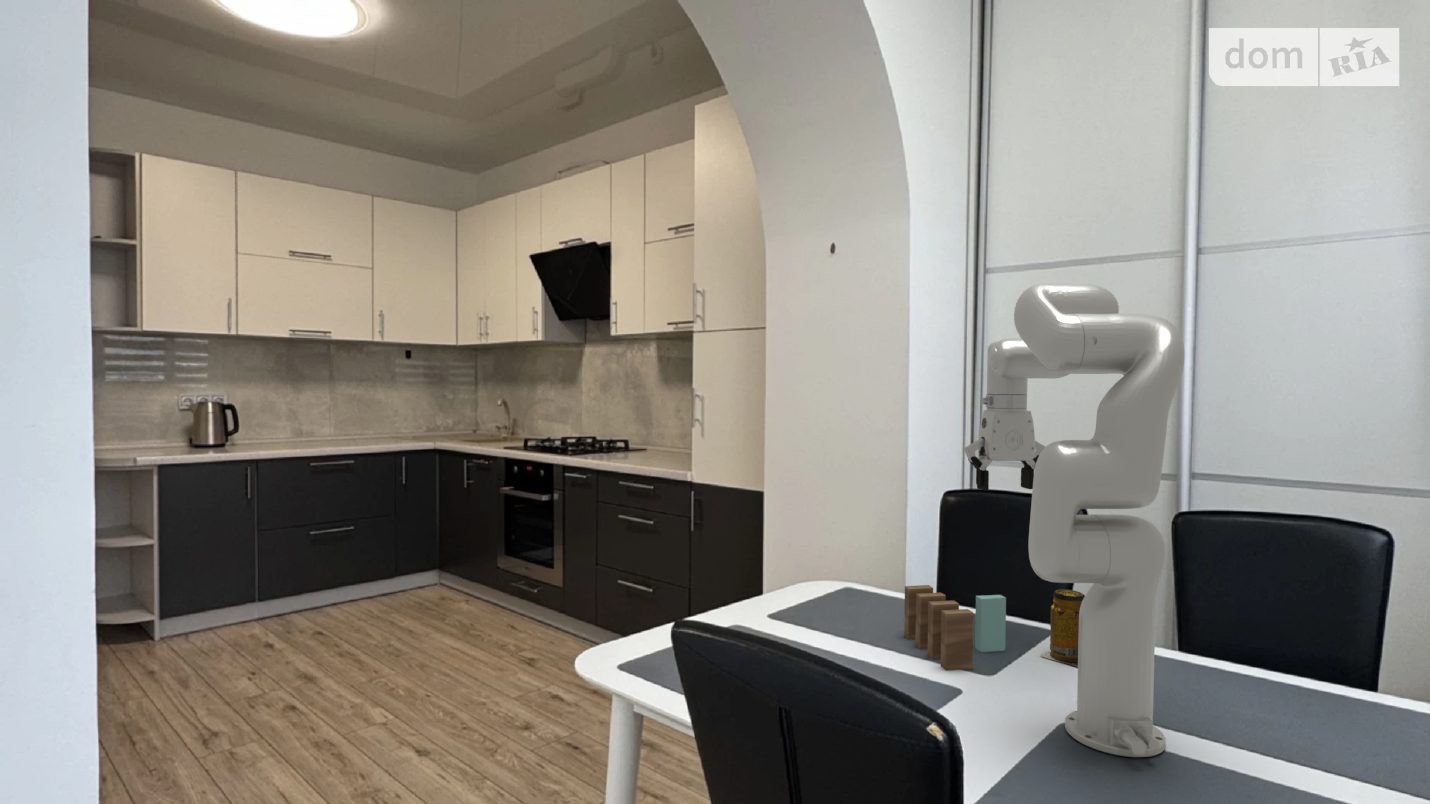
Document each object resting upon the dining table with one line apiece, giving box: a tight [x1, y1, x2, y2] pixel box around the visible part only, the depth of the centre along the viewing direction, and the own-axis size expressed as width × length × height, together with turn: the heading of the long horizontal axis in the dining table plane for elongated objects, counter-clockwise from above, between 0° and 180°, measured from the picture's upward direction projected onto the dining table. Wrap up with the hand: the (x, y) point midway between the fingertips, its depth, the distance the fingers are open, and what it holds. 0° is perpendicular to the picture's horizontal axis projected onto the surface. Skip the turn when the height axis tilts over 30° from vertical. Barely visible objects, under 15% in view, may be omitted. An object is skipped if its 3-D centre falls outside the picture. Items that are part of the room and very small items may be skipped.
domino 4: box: [940, 608, 974, 671], centre depth 131 cm, size 2×5×10 cm, turn 100°
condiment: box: [1040, 588, 1086, 668], centre depth 136 cm, size 7×8×12 cm
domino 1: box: [903, 584, 934, 641], centre depth 147 cm, size 2×5×10 cm, turn 100°
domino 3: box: [927, 600, 960, 660], centre depth 137 cm, size 2×5×10 cm, turn 99°
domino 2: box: [915, 592, 947, 650], centre depth 142 cm, size 2×5×10 cm, turn 100°
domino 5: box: [974, 594, 1007, 653], centre depth 140 cm, size 2×5×10 cm, turn 100°
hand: (1004, 488), depth 149 cm, fingers open, 9 cm apart
